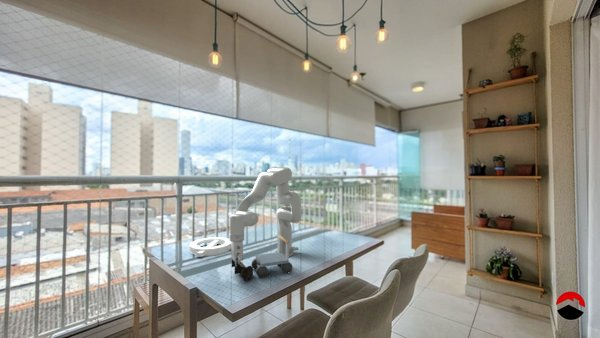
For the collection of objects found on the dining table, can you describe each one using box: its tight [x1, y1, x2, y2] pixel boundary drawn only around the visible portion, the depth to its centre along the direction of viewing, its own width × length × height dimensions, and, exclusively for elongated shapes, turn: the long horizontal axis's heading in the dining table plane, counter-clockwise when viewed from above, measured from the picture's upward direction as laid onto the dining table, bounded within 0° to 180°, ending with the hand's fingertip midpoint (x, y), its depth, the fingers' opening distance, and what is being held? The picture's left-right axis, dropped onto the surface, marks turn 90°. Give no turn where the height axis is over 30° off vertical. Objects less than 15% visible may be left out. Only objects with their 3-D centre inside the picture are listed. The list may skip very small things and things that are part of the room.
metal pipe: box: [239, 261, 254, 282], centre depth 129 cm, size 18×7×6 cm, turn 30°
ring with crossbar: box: [189, 236, 232, 258], centre depth 170 cm, size 28×28×5 cm
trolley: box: [250, 235, 293, 279], centre depth 134 cm, size 20×14×18 cm
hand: (236, 269), depth 126 cm, fingers open, 9 cm apart
